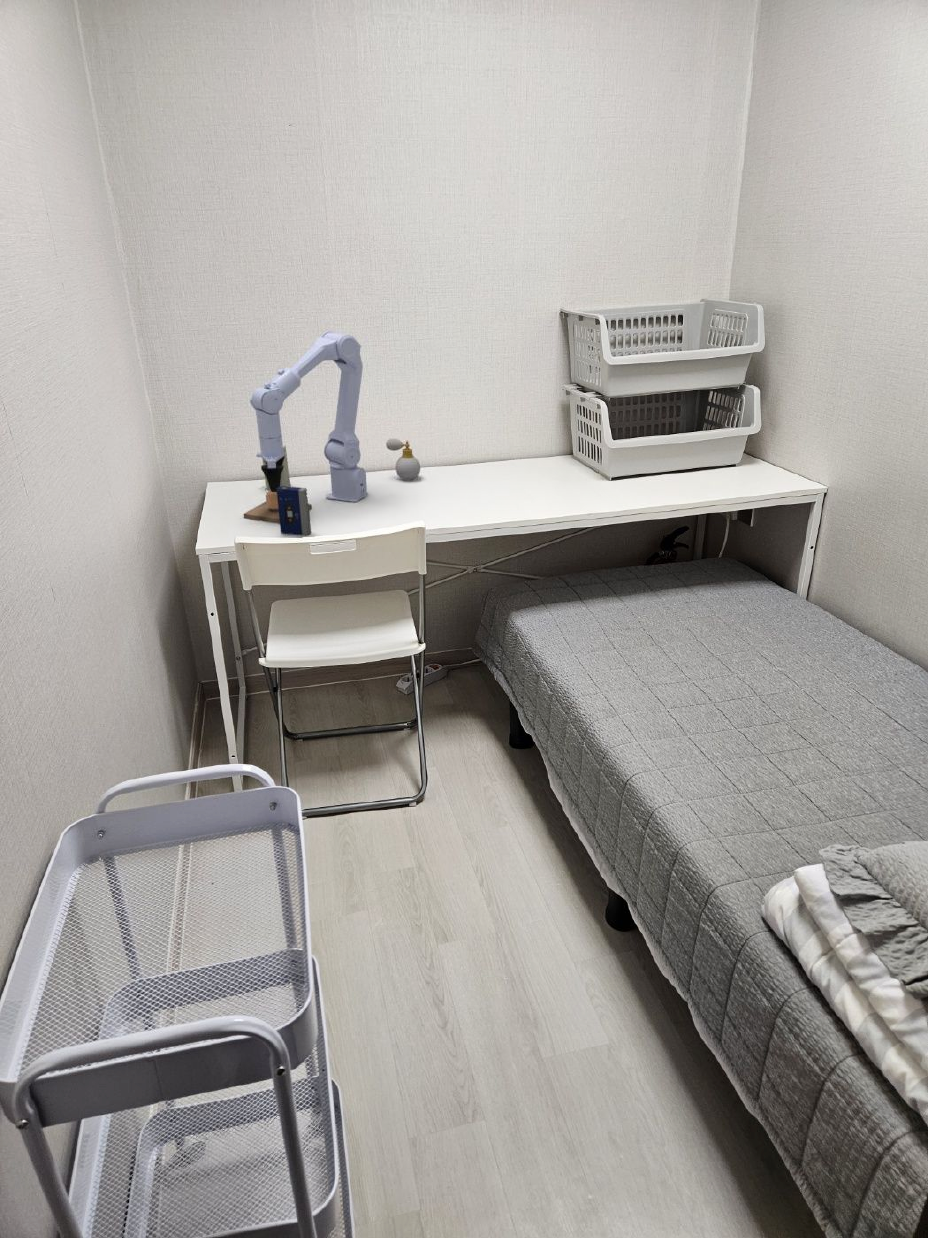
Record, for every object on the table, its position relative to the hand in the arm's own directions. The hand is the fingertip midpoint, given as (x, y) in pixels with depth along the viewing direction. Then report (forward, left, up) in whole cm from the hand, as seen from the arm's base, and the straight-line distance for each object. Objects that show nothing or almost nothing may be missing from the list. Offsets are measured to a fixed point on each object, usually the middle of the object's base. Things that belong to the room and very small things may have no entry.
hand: (275, 487), depth 219 cm
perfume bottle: (-19, -40, -8) cm, 45 cm away
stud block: (0, 0, -7) cm, 7 cm away
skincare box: (+12, -19, -8) cm, 24 cm away
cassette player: (-12, +11, -8) cm, 18 cm away
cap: (0, 0, -5) cm, 5 cm away
